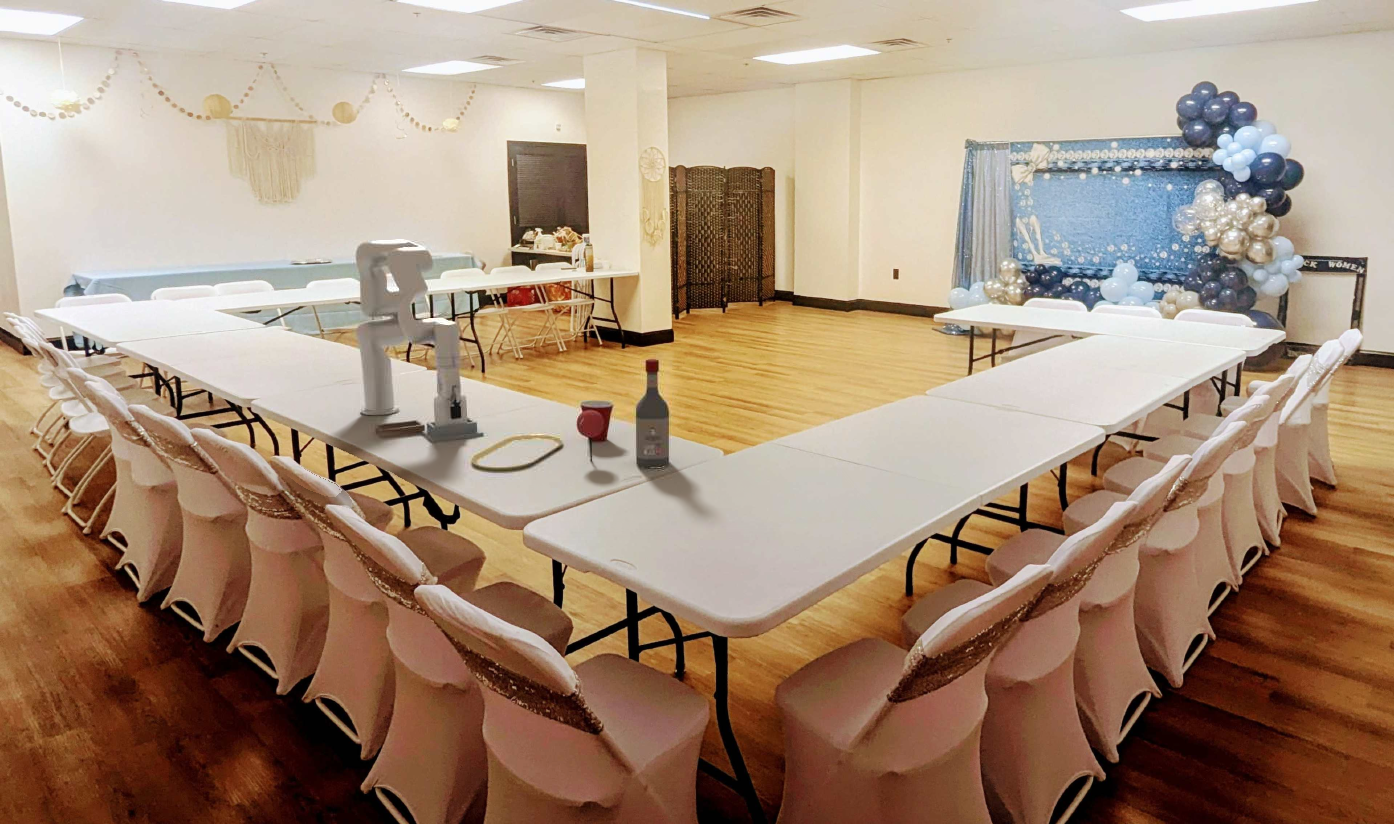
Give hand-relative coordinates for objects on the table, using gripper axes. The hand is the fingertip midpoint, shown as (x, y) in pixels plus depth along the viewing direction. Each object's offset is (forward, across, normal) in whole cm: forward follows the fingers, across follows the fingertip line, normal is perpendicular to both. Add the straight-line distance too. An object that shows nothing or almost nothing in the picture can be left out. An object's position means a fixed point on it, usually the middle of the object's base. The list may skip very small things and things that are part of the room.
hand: (451, 415), depth 284 cm
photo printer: (+6, 0, 0) cm, 6 cm away
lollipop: (+6, +48, +25) cm, 55 cm away
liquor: (+6, +59, +39) cm, 71 cm away
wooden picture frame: (+6, -10, -14) cm, 18 cm away
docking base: (+6, 0, 0) cm, 6 cm away
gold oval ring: (+7, +30, +10) cm, 33 cm away
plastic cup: (+6, +28, +37) cm, 47 cm away
